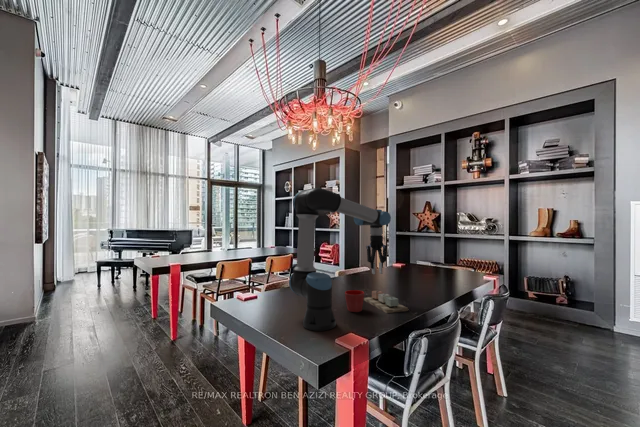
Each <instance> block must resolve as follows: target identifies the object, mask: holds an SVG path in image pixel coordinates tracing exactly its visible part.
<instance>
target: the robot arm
mask: <svg viewBox="0 0 640 427" xmlns="http://www.w3.org/2000/svg"><path fill="white" fill-rule="evenodd" d="M292 206H293V208H294V210H295V214H296V215H295V216H296V217H297V218H298V230H297V232H298V233H297V251H296V252H297V253H296V254H297V255H296V265H295V267H293V269H292V271H293V272H292V274H291V275H290V277H289V279H288V285H289V288H290V290H291V291H292V292H293V293H294V294H295V295H297V296H299V297H302V298H305V299H306V310H305V313H304V316H303V322H302V325H303V327H304V328H305V330H309V331H317V332H322V331H324V332H325V331H330V330H331V329H334V328H335V327H336V325H337V320H336V317H335V316H336V315H335V314H334V311H333V303H332V302H333V298H332V296H333V293H332V292H333V290H332V288H333V284H332V282H333V281H332V278H331V276H330V275H329V274H327V273H325V272H320V271H319V272H318V271H317V268H316V267H315V266H314V262H315V261H314V260H315V236H316V220H317V218H319V216H320V215H319V214H320V212H329V213H333V214H334V213H339V214H342V215H346V216H349V217H351V218H353V222H354V223H355V225H356V226H360V227H361V226H369V231H370V233H369V234H370V236H369V237H370V238H369V240H370V243H369V244H368V245H366V246H365V248H366V255H367V256H366V258H367V262H368V263H370V269H371V274H373V275H376V263H375V257H376V253H377V254H378V257H379V262H378V273H379V274H381V275H382V274H383V268H384V264H385V262H387V250H388V245H386V244H384V243H383V242H384V229H383V228H384V226H387V225H388V226H389V224H390V223H391V219H392V218H391V214H390V213H389V212H388V211H385V210H382V209H374V208H372V207H369V206H366V205H363V204H360V203H358V202H355V201H352V200H349V199H347V198H345V197H342V196H341V194H339V193H336V192H333V191H331V190H328V189H326V188H322V187H315V188H310V189H303V190H300V191H299V192H297V193H296V194H295V195H294V197H293V199H292Z"/></svg>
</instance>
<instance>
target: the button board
mask: <svg viewBox="0 0 640 427" xmlns="http://www.w3.org/2000/svg"><path fill="white" fill-rule="evenodd" d="M363 302H366V303H367V304H369V305H371V306H373V307H375V308H376V309H378V310H380V311H382V312H384V313H386V314H392V313H401V312H409V307H407V306H405V305H403V304H400V303H399V302H398V306H388V305H386V302H384V303H383V302H381V301H379V300H378V299H375V298H373V297H372V296H367V297H364V300H363Z"/></svg>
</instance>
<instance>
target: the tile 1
mask: <svg viewBox="0 0 640 427" xmlns="http://www.w3.org/2000/svg"><path fill="white" fill-rule="evenodd" d="M385 297H392V295H391V294H388V293H383V294H378V300H379V301H381V302H383V303H384V302H386V301H385ZM378 300H377V301H378Z"/></svg>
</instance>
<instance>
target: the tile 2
mask: <svg viewBox="0 0 640 427" xmlns="http://www.w3.org/2000/svg"><path fill="white" fill-rule="evenodd" d="M385 301H386V303H385V304H386V305H388V306H398V303H399V298H397V297H395V296H391V297H385Z"/></svg>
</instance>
